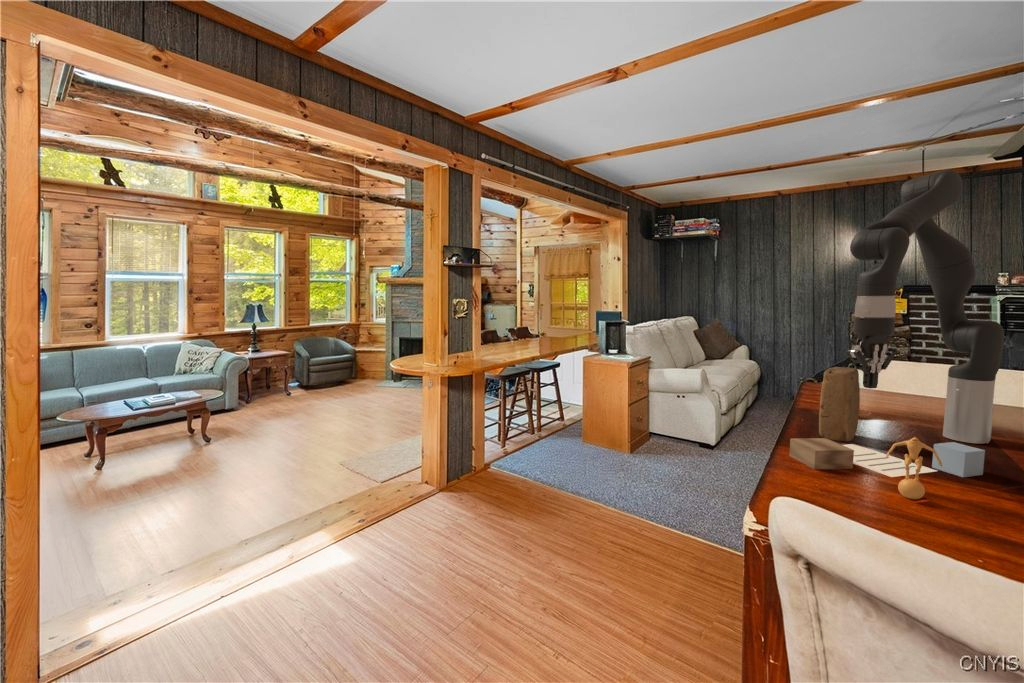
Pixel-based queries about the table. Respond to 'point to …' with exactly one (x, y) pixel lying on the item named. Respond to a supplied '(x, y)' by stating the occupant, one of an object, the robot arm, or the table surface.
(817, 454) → the walnut block
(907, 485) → the figurine
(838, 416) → the block
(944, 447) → the slate cube
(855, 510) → the table surface
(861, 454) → the letter
